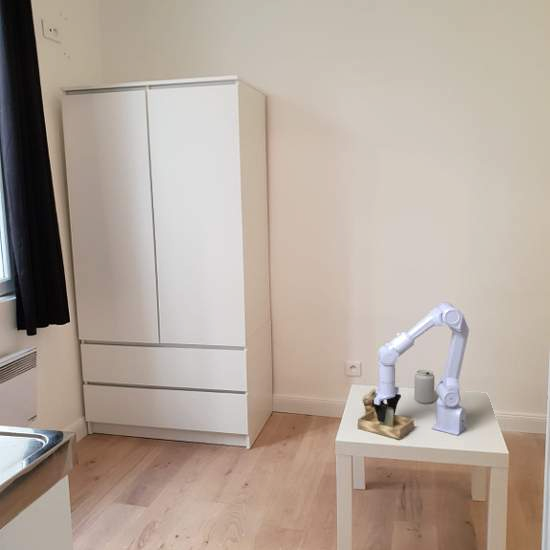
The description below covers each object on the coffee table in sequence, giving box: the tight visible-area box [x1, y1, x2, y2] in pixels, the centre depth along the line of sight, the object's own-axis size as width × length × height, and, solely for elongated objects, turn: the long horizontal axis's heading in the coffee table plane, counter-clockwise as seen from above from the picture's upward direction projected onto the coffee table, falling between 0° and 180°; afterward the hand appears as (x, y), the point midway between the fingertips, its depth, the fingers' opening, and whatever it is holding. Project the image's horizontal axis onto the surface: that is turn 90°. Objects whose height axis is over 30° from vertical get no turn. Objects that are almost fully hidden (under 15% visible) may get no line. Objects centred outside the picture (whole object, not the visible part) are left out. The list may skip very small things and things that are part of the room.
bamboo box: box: [357, 409, 415, 441], centre depth 205 cm, size 16×11×4 cm
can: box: [413, 369, 436, 405], centre depth 230 cm, size 8×8×12 cm
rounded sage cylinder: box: [379, 407, 394, 428], centre depth 206 cm, size 5×5×6 cm
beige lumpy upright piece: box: [362, 388, 377, 415], centre depth 219 cm, size 6×8×10 cm
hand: (386, 417), depth 206 cm, fingers open, 7 cm apart
